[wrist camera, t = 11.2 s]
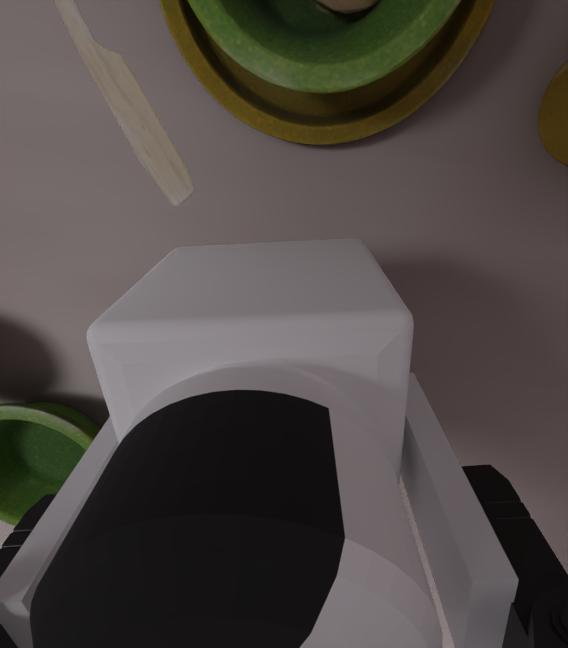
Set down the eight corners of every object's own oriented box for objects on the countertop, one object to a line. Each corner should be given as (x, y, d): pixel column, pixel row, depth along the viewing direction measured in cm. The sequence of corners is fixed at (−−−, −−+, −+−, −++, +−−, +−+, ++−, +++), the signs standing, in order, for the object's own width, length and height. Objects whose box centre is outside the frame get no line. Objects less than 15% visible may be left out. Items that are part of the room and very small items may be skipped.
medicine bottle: (200, 400, 18) (50, 816, 7) (171, 245, 15) (-182, 548, 4) (359, 395, 17) (465, 823, 6) (363, 234, 14) (580, 535, 3)
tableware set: (612, -576, 10) (1004, -1467, 5) (675, 303, 21) (821, 365, 15) (-301, 156, 19) (-559, 163, 13) (66, 519, 29) (10, 611, 24)
